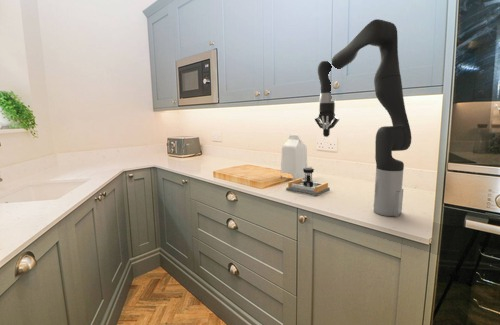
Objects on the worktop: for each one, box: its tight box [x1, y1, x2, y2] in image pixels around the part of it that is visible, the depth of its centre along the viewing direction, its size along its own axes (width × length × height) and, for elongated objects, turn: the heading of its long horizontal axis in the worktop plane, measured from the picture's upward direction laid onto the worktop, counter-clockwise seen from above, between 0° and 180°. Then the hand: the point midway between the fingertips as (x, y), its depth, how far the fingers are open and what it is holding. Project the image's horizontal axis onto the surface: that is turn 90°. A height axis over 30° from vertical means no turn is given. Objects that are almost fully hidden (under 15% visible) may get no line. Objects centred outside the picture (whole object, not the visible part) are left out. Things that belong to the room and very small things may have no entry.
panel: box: [285, 178, 331, 197], centre depth 139 cm, size 17×14×4 cm
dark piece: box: [300, 166, 315, 187], centre depth 139 cm, size 7×5×10 cm
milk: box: [280, 134, 308, 181], centre depth 167 cm, size 12×12×26 cm
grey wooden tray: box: [291, 179, 323, 192], centre depth 139 cm, size 13×10×2 cm
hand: (326, 136), depth 142 cm, fingers closed
